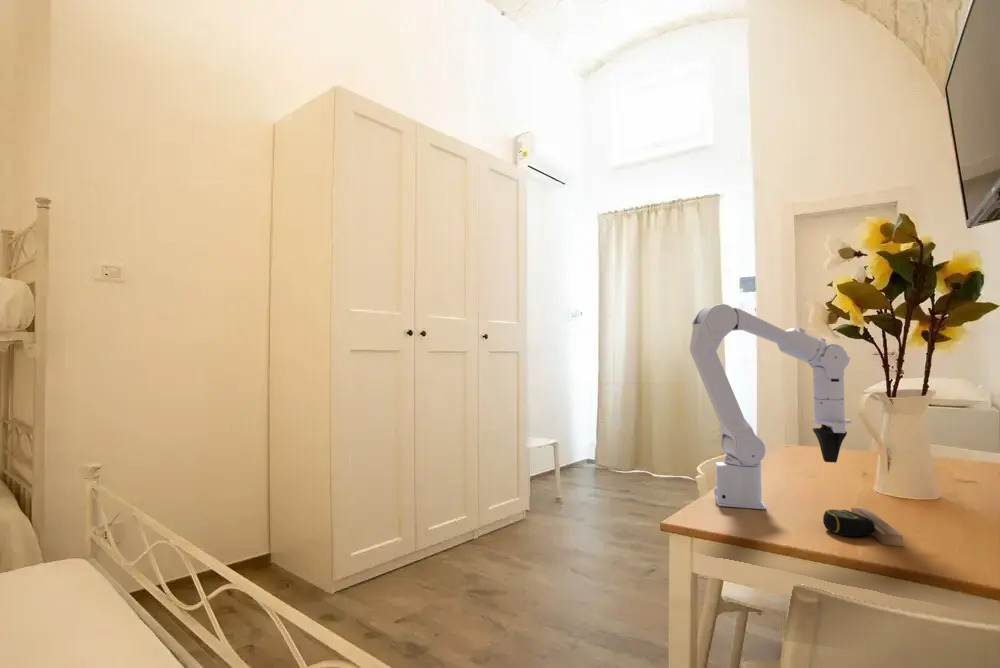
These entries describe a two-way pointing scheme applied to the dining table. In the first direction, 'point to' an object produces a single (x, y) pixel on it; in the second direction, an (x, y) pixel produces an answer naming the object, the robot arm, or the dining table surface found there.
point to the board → (881, 528)
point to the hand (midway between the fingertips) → (830, 461)
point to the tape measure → (847, 523)
